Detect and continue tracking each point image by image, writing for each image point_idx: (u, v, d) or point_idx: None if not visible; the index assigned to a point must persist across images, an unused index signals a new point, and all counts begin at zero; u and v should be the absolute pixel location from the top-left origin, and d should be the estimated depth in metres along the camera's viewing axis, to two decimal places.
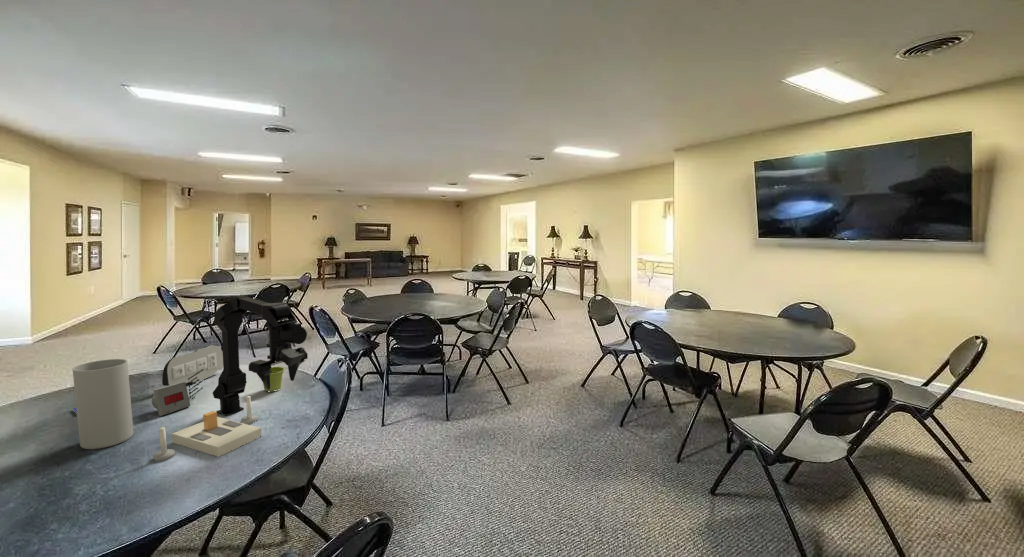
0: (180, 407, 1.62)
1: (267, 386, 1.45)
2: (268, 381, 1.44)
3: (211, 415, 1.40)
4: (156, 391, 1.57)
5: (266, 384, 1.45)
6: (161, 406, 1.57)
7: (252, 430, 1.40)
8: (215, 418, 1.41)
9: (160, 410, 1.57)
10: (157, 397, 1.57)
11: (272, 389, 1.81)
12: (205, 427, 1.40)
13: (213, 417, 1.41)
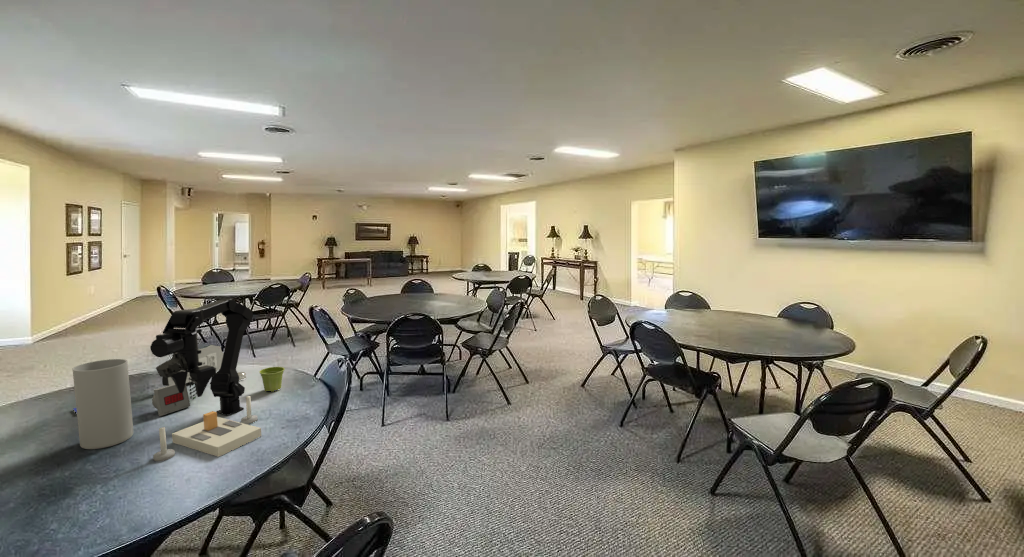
0: (180, 407, 1.62)
1: None
2: (176, 384, 1.44)
3: (211, 415, 1.40)
4: (156, 391, 1.56)
5: None
6: (161, 406, 1.57)
7: (252, 430, 1.40)
8: (215, 418, 1.41)
9: (160, 410, 1.56)
10: (157, 397, 1.56)
11: (272, 389, 1.81)
12: (205, 427, 1.40)
13: (213, 417, 1.41)
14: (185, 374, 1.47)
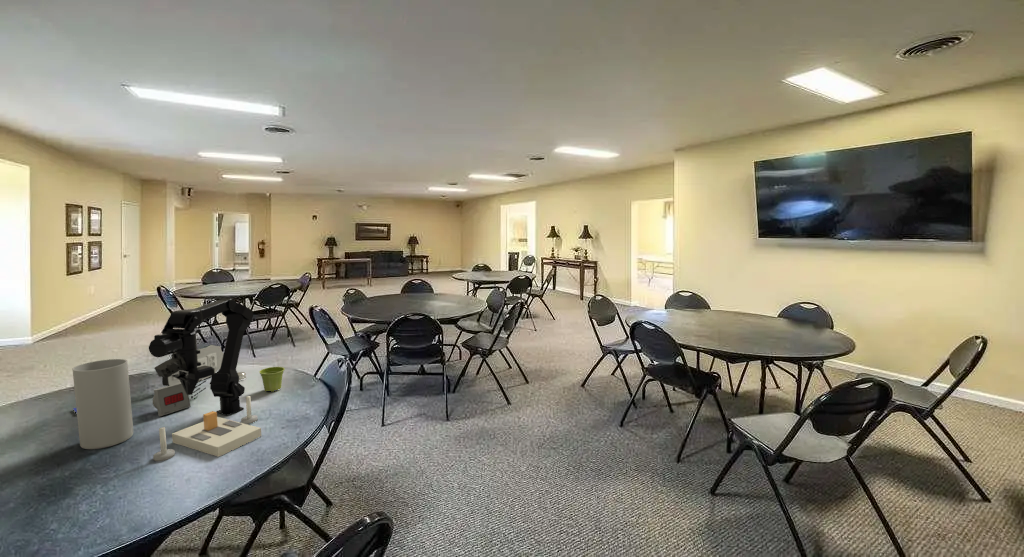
0: (180, 408, 1.62)
1: None
2: (183, 386, 1.43)
3: (211, 415, 1.40)
4: (156, 391, 1.56)
5: None
6: (161, 406, 1.56)
7: (252, 430, 1.40)
8: (215, 418, 1.41)
9: (160, 410, 1.56)
10: (157, 397, 1.56)
11: (272, 389, 1.81)
12: (205, 427, 1.40)
13: (213, 417, 1.41)
14: None
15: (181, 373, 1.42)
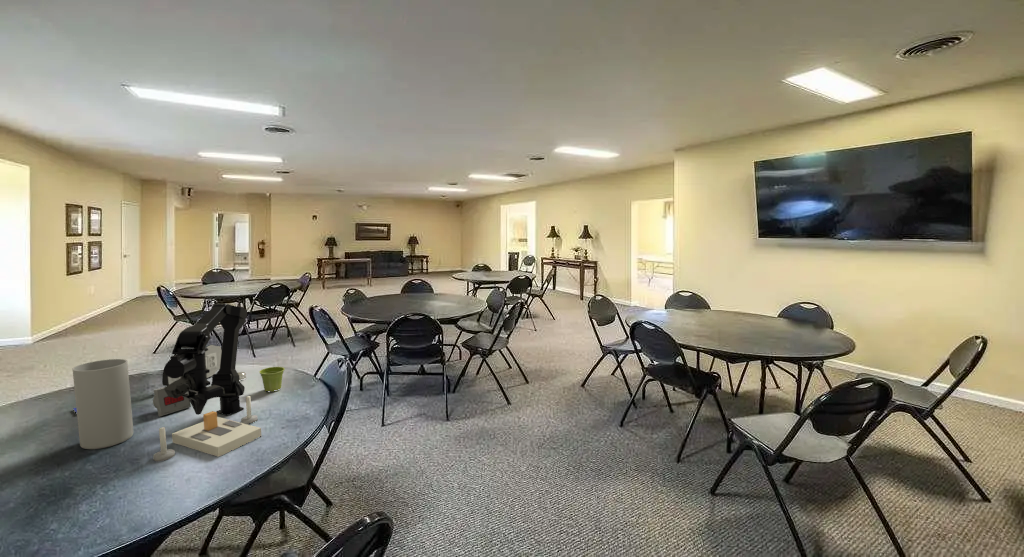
0: (180, 408, 1.61)
1: None
2: (192, 406, 1.42)
3: (211, 415, 1.40)
4: (156, 391, 1.56)
5: None
6: (160, 407, 1.56)
7: (252, 430, 1.40)
8: (215, 418, 1.41)
9: (159, 410, 1.56)
10: (157, 397, 1.56)
11: (272, 389, 1.81)
12: (205, 427, 1.40)
13: (213, 417, 1.41)
14: None
15: (190, 393, 1.41)
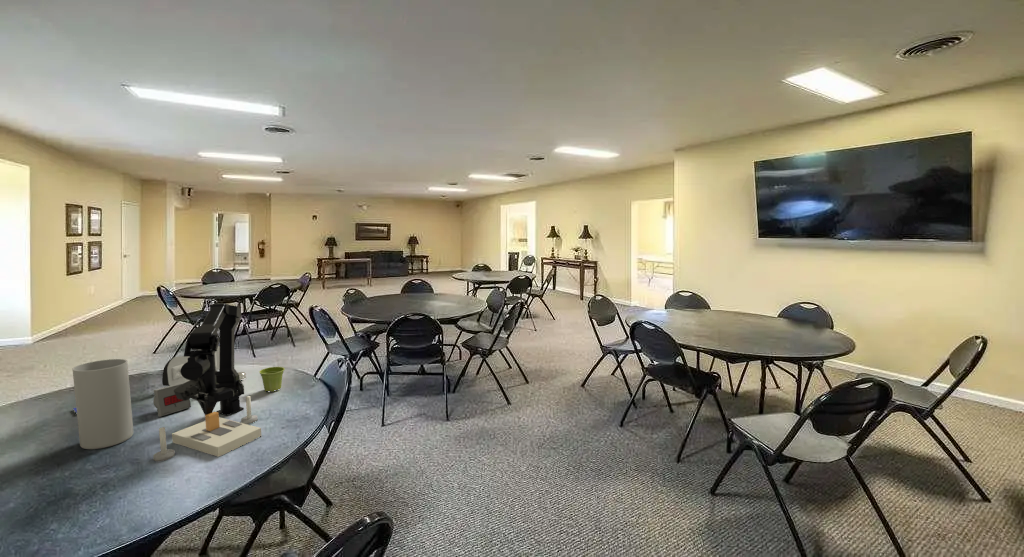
0: (180, 408, 1.61)
1: None
2: (202, 408, 1.40)
3: (213, 415, 1.40)
4: (156, 392, 1.56)
5: None
6: (160, 407, 1.56)
7: (252, 430, 1.40)
8: (217, 418, 1.41)
9: (159, 411, 1.56)
10: (157, 398, 1.56)
11: (272, 389, 1.81)
12: (207, 428, 1.39)
13: (215, 418, 1.40)
14: None
15: (200, 395, 1.39)
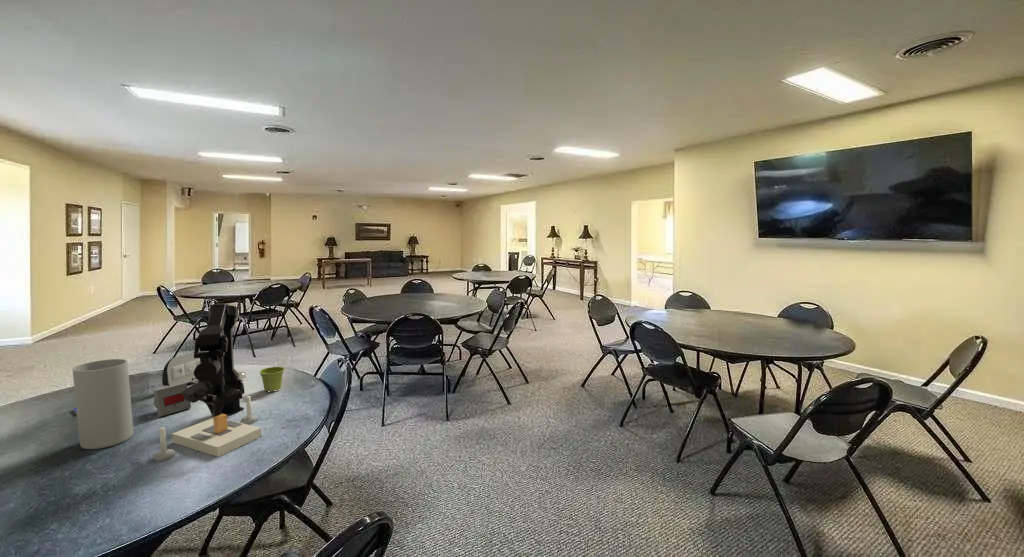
0: (180, 408, 1.61)
1: None
2: (210, 410, 1.38)
3: (221, 418, 1.38)
4: (156, 392, 1.56)
5: None
6: (160, 407, 1.56)
7: (252, 430, 1.40)
8: (225, 421, 1.39)
9: (159, 411, 1.56)
10: (156, 398, 1.56)
11: (272, 389, 1.81)
12: (215, 430, 1.38)
13: (223, 420, 1.39)
14: None
15: (208, 397, 1.38)
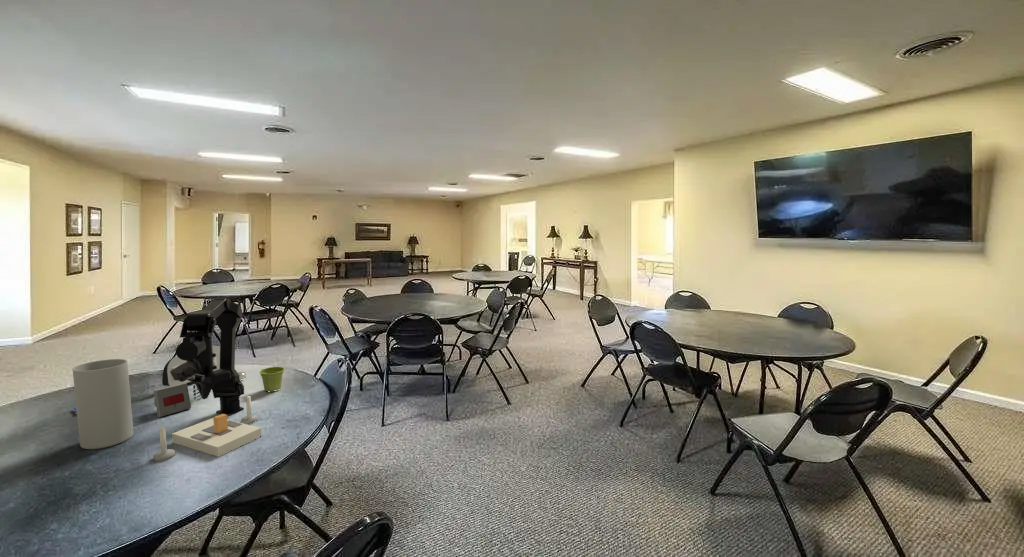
0: (180, 409, 1.61)
1: None
2: (199, 390, 1.40)
3: (221, 418, 1.38)
4: (155, 392, 1.56)
5: None
6: (160, 407, 1.56)
7: (252, 430, 1.40)
8: (225, 421, 1.39)
9: (159, 411, 1.56)
10: (156, 398, 1.56)
11: (272, 389, 1.81)
12: (215, 430, 1.38)
13: (224, 420, 1.39)
14: None
15: (197, 377, 1.39)
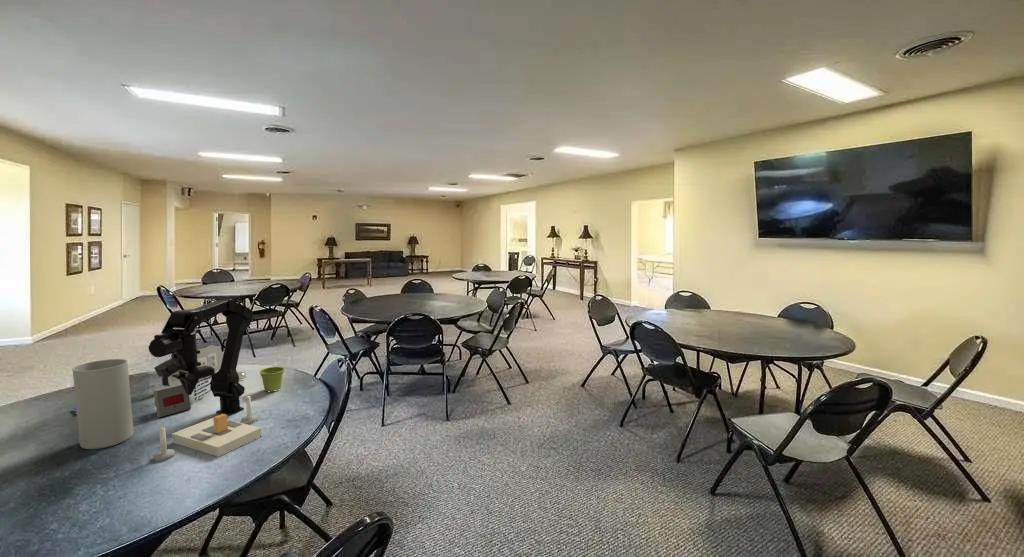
0: (180, 409, 1.60)
1: None
2: (183, 386, 1.43)
3: (221, 418, 1.38)
4: (155, 392, 1.56)
5: None
6: (159, 407, 1.55)
7: (252, 430, 1.40)
8: (225, 421, 1.39)
9: (158, 411, 1.55)
10: (156, 398, 1.56)
11: (272, 389, 1.81)
12: (215, 430, 1.38)
13: (224, 420, 1.39)
14: None
15: (181, 373, 1.42)
